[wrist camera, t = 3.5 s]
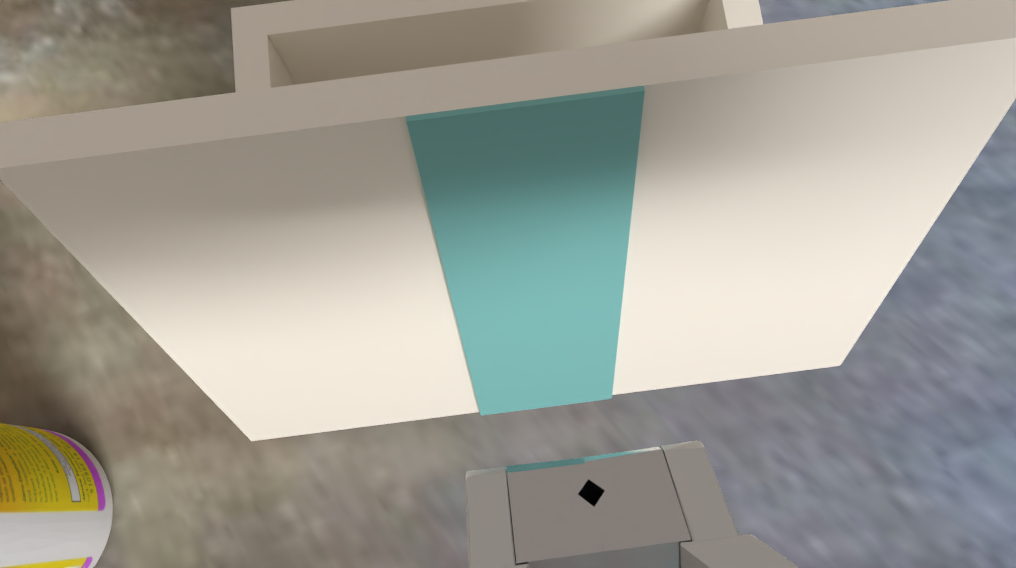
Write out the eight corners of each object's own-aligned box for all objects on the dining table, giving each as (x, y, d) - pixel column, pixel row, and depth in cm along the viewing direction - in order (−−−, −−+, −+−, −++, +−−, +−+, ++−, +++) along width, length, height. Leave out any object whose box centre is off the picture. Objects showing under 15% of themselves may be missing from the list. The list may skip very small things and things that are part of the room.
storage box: (708, 42, 38) (745, -58, 31) (772, 369, 35) (829, 336, 28) (285, 96, 38) (230, 8, 31) (309, 428, 35) (253, 410, 28)
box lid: (1035, -11, 16) (1062, 37, 15) (830, 336, 28) (841, 369, 27) (0, 122, 16) (-11, 175, 15) (252, 410, 28) (251, 444, 27)
